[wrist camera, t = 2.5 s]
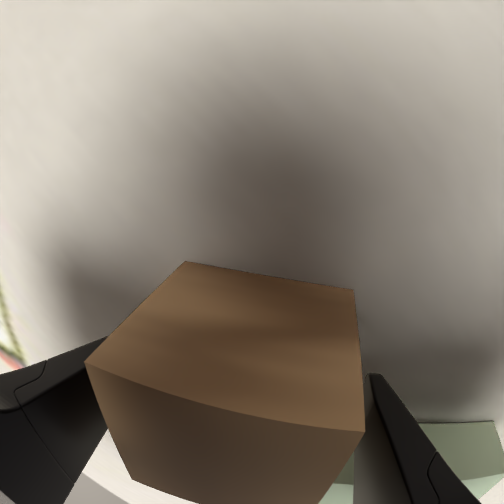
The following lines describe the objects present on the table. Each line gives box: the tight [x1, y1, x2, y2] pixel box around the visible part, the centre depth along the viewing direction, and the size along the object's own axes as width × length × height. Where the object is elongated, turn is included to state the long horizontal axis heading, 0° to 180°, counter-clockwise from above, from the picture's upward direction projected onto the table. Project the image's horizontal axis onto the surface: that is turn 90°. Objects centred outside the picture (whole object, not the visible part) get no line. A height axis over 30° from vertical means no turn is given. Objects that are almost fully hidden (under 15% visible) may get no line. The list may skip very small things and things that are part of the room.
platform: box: [318, 421, 504, 504], centre depth 10 cm, size 8×8×3 cm
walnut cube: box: [84, 261, 365, 504], centre depth 8 cm, size 5×5×5 cm
